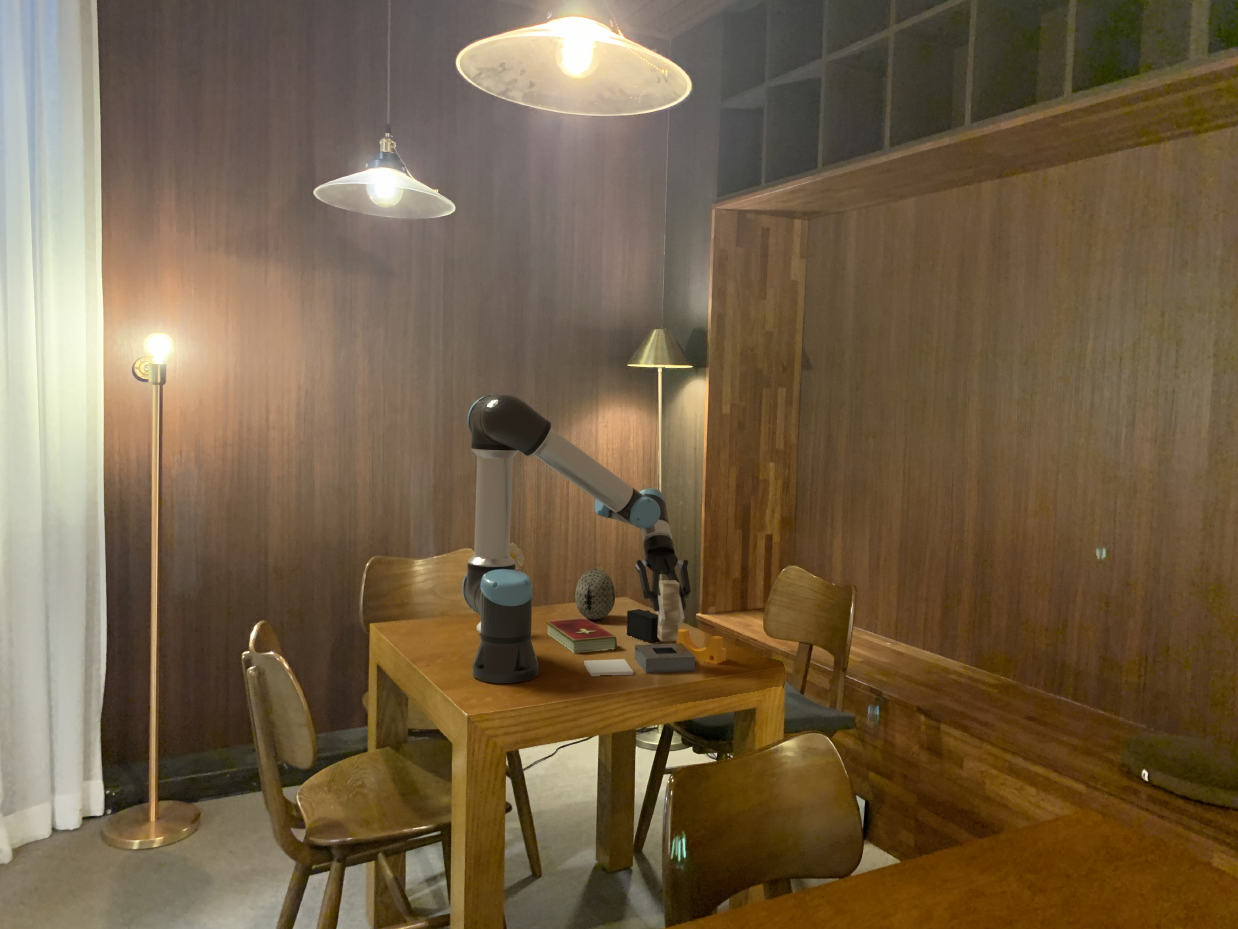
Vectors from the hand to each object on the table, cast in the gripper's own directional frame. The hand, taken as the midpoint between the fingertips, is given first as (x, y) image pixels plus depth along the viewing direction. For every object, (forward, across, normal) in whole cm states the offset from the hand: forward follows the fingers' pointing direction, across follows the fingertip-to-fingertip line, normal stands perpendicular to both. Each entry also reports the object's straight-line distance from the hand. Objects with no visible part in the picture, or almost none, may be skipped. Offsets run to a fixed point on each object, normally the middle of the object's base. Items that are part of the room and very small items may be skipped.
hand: (672, 621), depth 214 cm
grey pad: (+7, +15, -10) cm, 19 cm away
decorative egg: (-27, +10, -44) cm, 53 cm away
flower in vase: (-18, +38, -35) cm, 55 cm away
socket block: (+6, +1, -11) cm, 12 cm away
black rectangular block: (-12, -1, -29) cm, 31 cm away
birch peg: (+1, 0, -6) cm, 6 cm away
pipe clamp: (+2, -10, -14) cm, 18 cm away
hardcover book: (-11, +18, -28) cm, 35 cm away
